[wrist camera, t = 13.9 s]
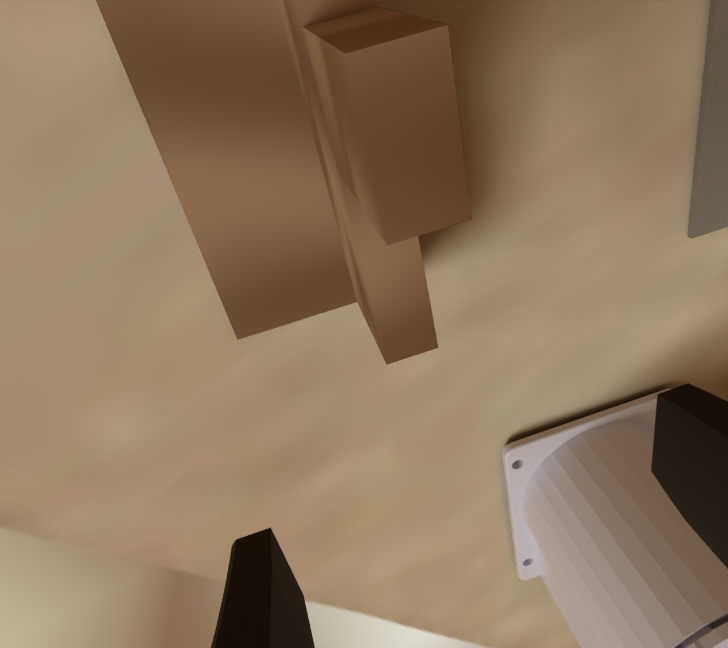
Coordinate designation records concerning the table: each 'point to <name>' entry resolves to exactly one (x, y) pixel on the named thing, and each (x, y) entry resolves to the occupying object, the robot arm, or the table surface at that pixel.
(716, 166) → the charcoal mat
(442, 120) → the walnut scraper
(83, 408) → the table surface
